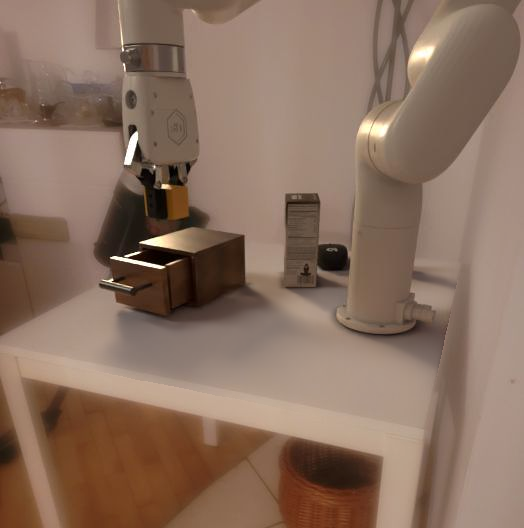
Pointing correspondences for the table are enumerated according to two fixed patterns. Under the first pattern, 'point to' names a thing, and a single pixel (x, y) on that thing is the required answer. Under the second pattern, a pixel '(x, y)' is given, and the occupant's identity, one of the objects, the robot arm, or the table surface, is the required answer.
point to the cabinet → (206, 260)
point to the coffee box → (301, 239)
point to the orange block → (174, 201)
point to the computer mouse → (332, 256)
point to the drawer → (151, 280)
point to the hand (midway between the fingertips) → (167, 214)
